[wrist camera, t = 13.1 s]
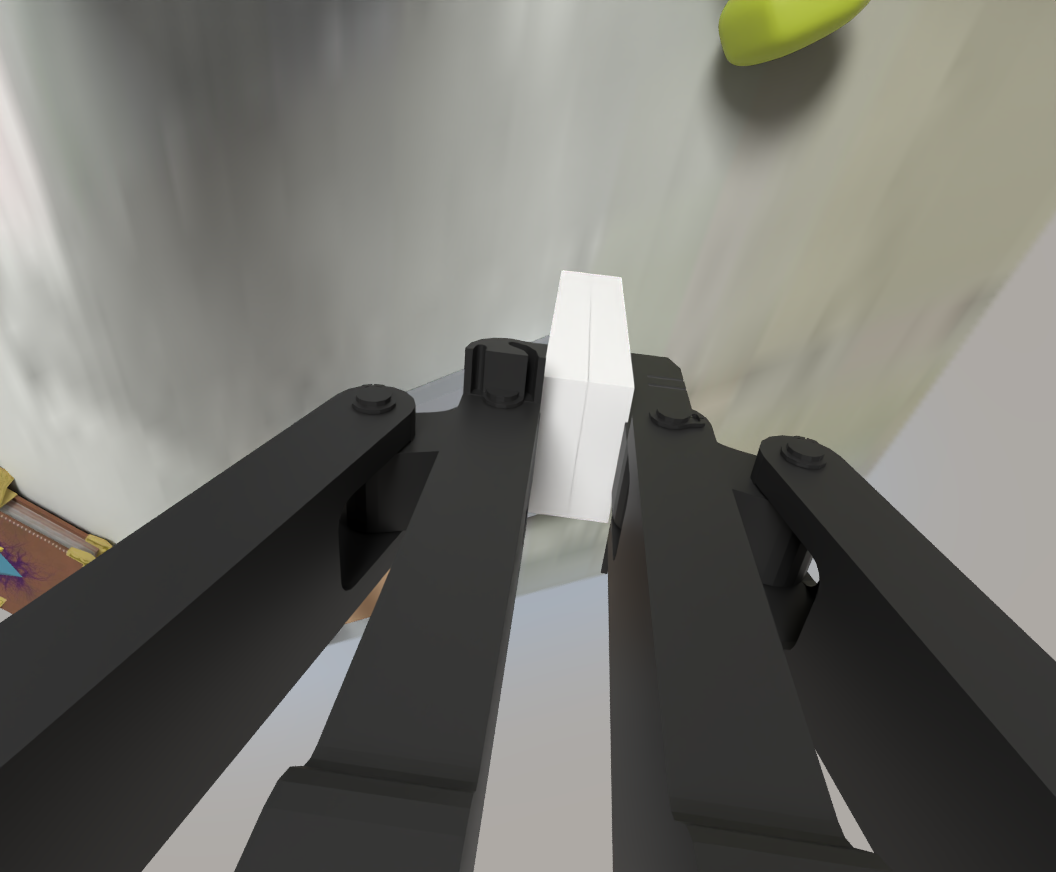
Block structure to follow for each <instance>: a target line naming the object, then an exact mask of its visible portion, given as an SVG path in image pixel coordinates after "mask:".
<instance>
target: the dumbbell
mask: <svg viewBox="0 0 1056 872" xmlns="http://www.w3.org/2000/svg"><path fill="white" fill-rule="evenodd" d="M869 1H870V0H729V1H728V2H727V4H726V6H725V8H724V9H723V11H722V14H721V16H720V19H719V27H718V28H719V35H720V40H721V44H722V47H723V50H724V53H725V56H726V58H727V60H728V61H729V62H730V63H731V64H733V65H736V66H750V65H755V64H760V63H763V62H767V61H771V60H774V59H777V58H780V57H783V56H786V55H788V54H791V53H793V52H795V51H797V50H800V49H802V48H804V47H806V46H808V45H810V44H812V43H814V42H816V41H818V40H820V39H822V38H823V37H825V36H827V35H829V34H831V33H832V32H834V31H836V30H837V29H839V28H841V27H842V26H844V25H845V24H846V23H848V22H849V21H850V20H852V19H853V18H854V17H855V16H856V15H857V14H858V13H859V12H860V11H861V10H862V9H863V8H864V7H865V6H866V5H867V4H868V3H869Z"/></svg>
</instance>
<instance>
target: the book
mask: <svg viewBox="0 0 1056 872" xmlns="http://www.w3.org/2000/svg"><path fill="white" fill-rule="evenodd" d="M13 480H14V478H13V477H12V476H11V475H10V474H9V473H8V472H7V471H6V470H5V469H3V468H1V467H0V608H2V609H4V610H6V611H8V612H10V613H12V614H14V613H16V612H17V611H18V610H20V609H21V608H23V607H24V606H26V605H27V604H29V603H30V602H32V601H33V600H35V599H36V598H38V597H39V596H41V595H42V594H44V593H45V592H47V591H48V590H49V589H51V588H52V587H54V586H55V585H57V584H58V583H60V582H61V581H63V580H64V579H66V578H67V577H69V576H70V575H72V574H73V573H75V572H76V571H77V570H79V569H80V568H82V567H83V566H85V565H86V564H88V563H89V562H91V561H92V560H94V559H95V558H97V557H98V556H100V555H101V554H103V553H104V552H106V551H107V550H108V549H110V548H111V547H113V546H112V545H111V544H110V543H109V542H107V541H106V540H104V539H102V538H99V537H96V536H94V535H91V534H89V535H88V534H87V533H85V532H83V531H81V530H79V529H78V528H76V527H74V526H72V525H70V524H69V523H67V522H65V521H63V520H61V519H60V518H58V517H56V516H54V515H52V514H50V513H49V512H47V511H45V510H43V509H41V508H40V507H38V506H36V505H34V504H32V503H31V502H29V501H27V500H25V499H23V498H22V497H20V496H18V494H16V493H15V492H13V491H11V490H9V489H7V487H8V486H9V485H10V483H11V482H12V481H13Z"/></svg>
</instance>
